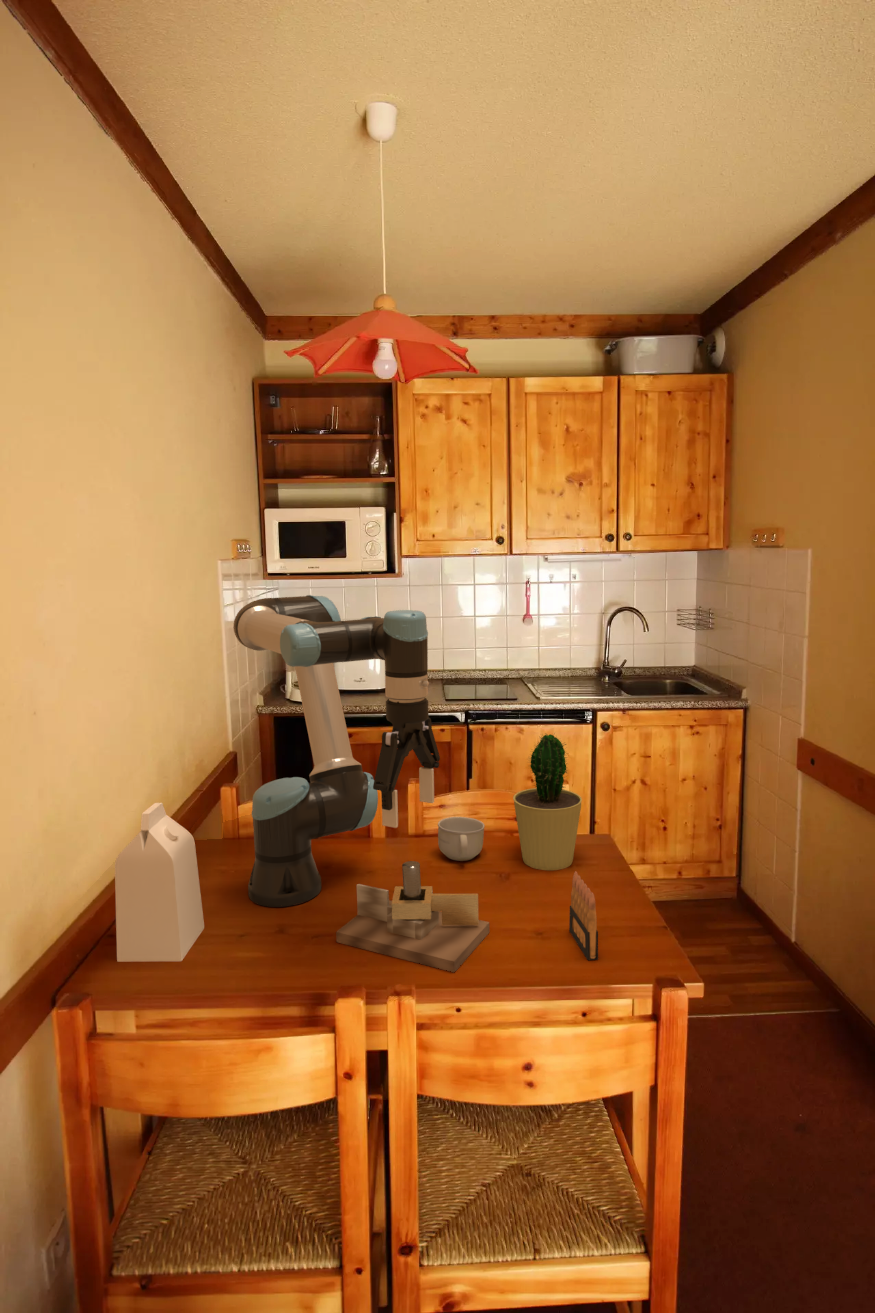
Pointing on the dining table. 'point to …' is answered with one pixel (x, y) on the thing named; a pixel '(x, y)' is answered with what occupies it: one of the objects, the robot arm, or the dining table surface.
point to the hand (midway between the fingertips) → (409, 813)
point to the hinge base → (409, 933)
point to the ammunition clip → (583, 918)
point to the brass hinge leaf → (436, 906)
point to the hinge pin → (411, 880)
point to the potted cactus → (547, 810)
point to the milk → (157, 892)
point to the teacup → (460, 837)
